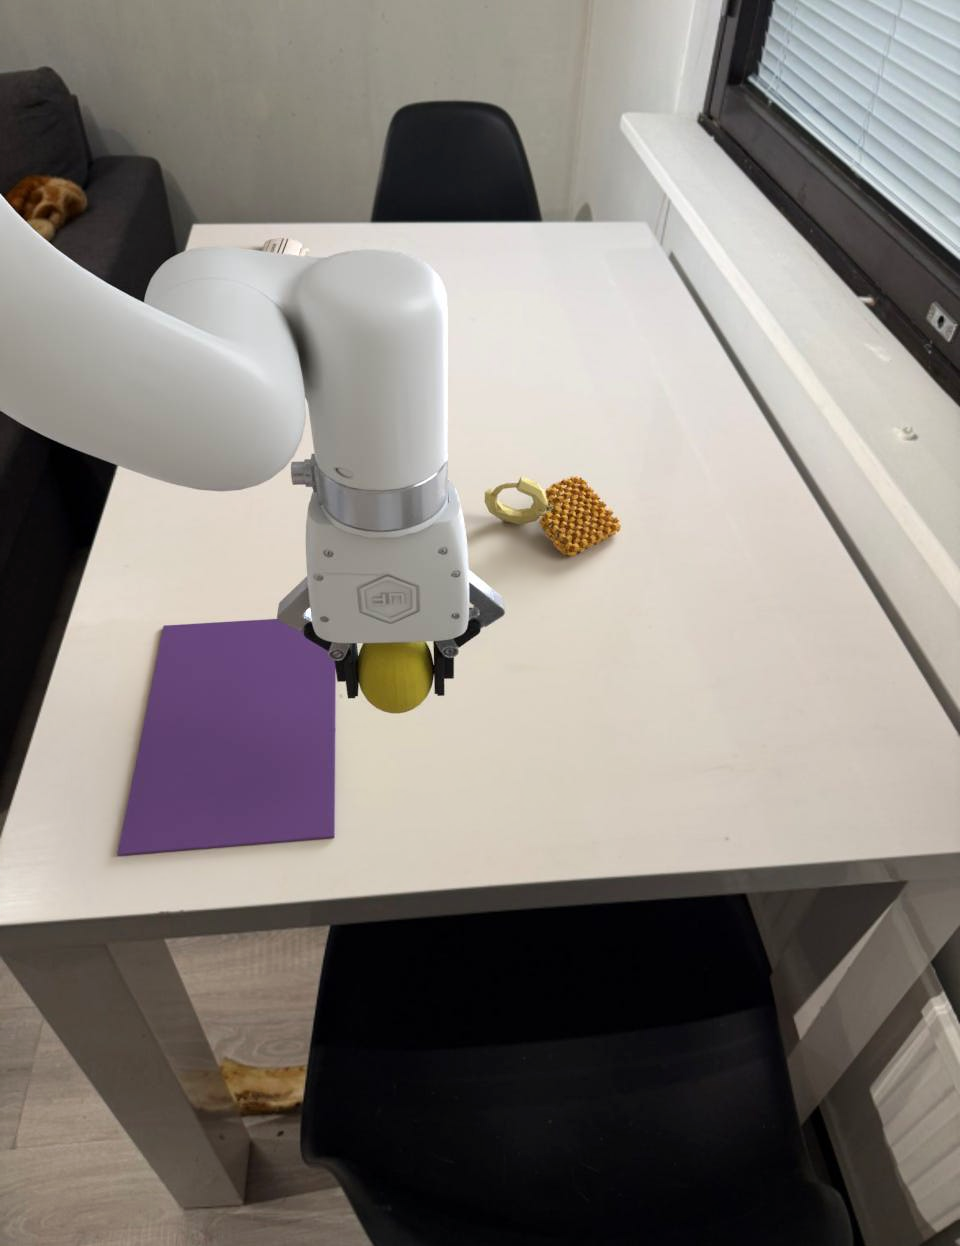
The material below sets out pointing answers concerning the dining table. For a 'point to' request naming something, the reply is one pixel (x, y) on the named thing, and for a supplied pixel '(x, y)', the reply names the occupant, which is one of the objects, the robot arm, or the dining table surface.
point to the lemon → (395, 674)
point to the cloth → (234, 741)
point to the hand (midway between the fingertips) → (396, 680)
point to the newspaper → (285, 247)
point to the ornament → (560, 512)
